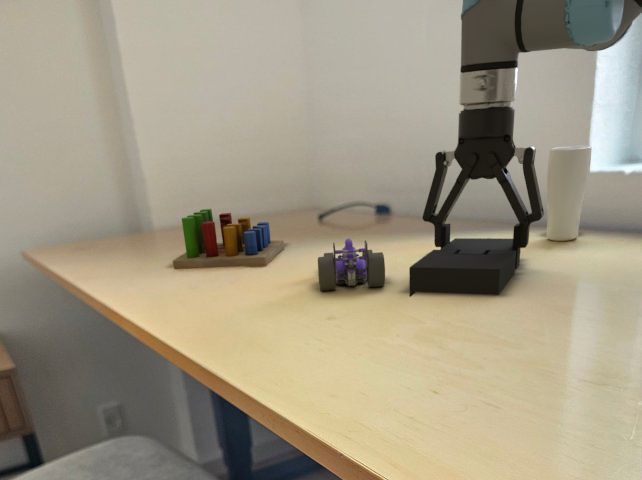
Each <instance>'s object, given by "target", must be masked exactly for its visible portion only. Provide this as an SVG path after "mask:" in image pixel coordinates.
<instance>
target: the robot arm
mask: <svg viewBox="0 0 642 480" xmlns="http://www.w3.org/2000/svg"><path fill="white" fill-rule="evenodd" d="M641 14H642V0H462V7H461V13H460V20H461V33H460V35H461V36H460V37H461V38H460V39H461V41H460V52H461V53H460V71H459V72H460V73H459V100H458V101H459V103H458V104H459V106H463V108H462V110H459V111H460V112H459V113H458V130H457V131H458V133H457V146H456V147H455V149H454V150H448V151H447V150H441V151H438V152H436V153H435V155H434V157H435V158H434V159H435V160H434V161H435V171H434V174H433V178H432V181H431V184H430V189H429V191H428V196H427V200H426V202H425V207H424V210H423V214H422V220H423V222H426V223H427V222H428V223H430V224H432V225H433V227H434V247H435V248H440V249H442V248H443V247H444V246H446V245H447V244H448V243H450V242H451V223H446V222H447V220H448V218H449V216H450V214H451V212H452V211H453V209H454V207H455V205H456V203H458V202H457V201H458V200H459V198H460V196H461V194H462V193H463V191H464V189H465V187H467V184H468V183H469V181H470V180H474V181H475V180H479V179H485V180H494V179H496V181H497V183H498V184H499V185H500V187H501V189H502V191H503V193H504V195H505V197H506V199H507V201H508V203H509V205H510V207H511V209H512V211H513V213H514V215H515V217H516V220H517V221H518V223H516V224H515V225H514V226H513V235H512V239H513V250H516V261H515V270H517V269H518V268H519V266H520V263H521V261H520V260H521V249H525V248H526V247H528V245H529V240H530V229H531V228H530V227H531V224H532V223H534V222H539V221H540V220H542V218H544V215H545V211H544V207H543V206H544V205H543V201H542V196H541V192H540V187H539V181H538V176H537V171H536V167H535V161H536V153H537V149H536V147H535V146H533V145H530V146H527V147H523V146H522V147H520V146H519V147H516V144H515V142H514V128H515V113H516V110H515V108H514V106H511V104H512V102H515V101H516V100H517V99H516V98H517V81H518V67H519V64H518V63H519V54H521V53H523V54H524V53H525V54H526V53H531V52H540V51H550V50H560V49H570V50H583V51H586V52H600V51H605V50H607V49H609V48H611V47H613V46H615V45H617V44H618V43H620V42H621V41H622V40H623V39H624V38H625V37H626V36H627V34H628V33H629V31H630V29H631V28H632V25H633V22H634V21H635V20H637V19H638V17H639V16H640V15H641ZM514 157H516V158H517V162H518V164H520V165H522V173H523V178H524V182H525V187H526V191H527V192H526V193H527V197H528V201H529V205H530V209H531V210H530V211H531V212H530V213H529V211H528V208H527V207H526V205H525V203H524V201H523V199H522V197H521V195H520V193H519V191H518V188H517V187H516V185H515V183H514V181H513V179H512V175H511V173H510V171H509V169H508V165H509V163H511V161H512V159H513V158H514ZM454 159H455V161H456V163H457V164H458V165H459V167H460V169H461V170H460V172H459V173H458V176H457V178H456V179H455V182H454V184H453V186H452V188H451V189H450V191H449V193H448V195H447V197H446V198H445V200H444V201H443V204H442V205H441V206H440V209H439V211H438V212H437V208H438V205H439V201H440V197H441V194H442V191H443V187H444V184H445V181H446V177H447V174H448V169H449V167H451V166H452V164H453V160H454ZM436 212H437V213H436Z"/></svg>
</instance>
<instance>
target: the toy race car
mask: <svg viewBox="0 0 642 480" xmlns="http://www.w3.org/2000/svg"><path fill="white" fill-rule="evenodd" d="M353 243H354V242H353V240H352V239H351V238H346V239H345V241H344V247H342V249H337V250H336V244H335V242H333V243H332V248H333V249H332V250H333V252H324V253H323V256H318V257H317V272H318V284H319V291H320V292H324V291H325V292H327V291H335V290H336V288H337V285H346V286H347V287H355V286H357V285H358V284H363V283H365V282H367V283H366V284H367V287H368V288H378V287H379V288H380V287H385V284H386V262H385V255H384V253H383V252H382V251H381V252H373V249H368V242H367V240H364V248H363V247H362V248H358V249H356V247H355V246H354V244H353ZM359 253H361V255H360V254H359ZM336 255H337V257H336Z"/></svg>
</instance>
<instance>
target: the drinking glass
mask: <svg viewBox="0 0 642 480" xmlns="http://www.w3.org/2000/svg"><path fill="white" fill-rule="evenodd" d="M592 148H593V147H592V146H590V145H570V146H559V147H558V146H557V147H552V148H550V149H549V154H548V160H547V162H548V163H547V173H546V175H547V178H546V180H547V181H546V183H547V184H546V190H547V191H546V192H547V193H546V201H547V203H546V233H545V234H546V235H545V237H546V238H547V239H548V240H550V241H555V242H565V241H566V242H567V241H573V240H576V239H577V238H578V236H579V230H580V229H579V228H580V222H581V217H582V212H583V207H584V202H585V197H586V191H587V186H588V181H589V176H590V170H591V160H592Z"/></svg>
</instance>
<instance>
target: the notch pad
mask: <svg viewBox="0 0 642 480" xmlns="http://www.w3.org/2000/svg"><path fill="white" fill-rule="evenodd" d="M515 261H516V250H490V251H489V252H488V253H487V254H457V250H440V249H433V250H431V251H430V252H427V254H426V255H424V256H423V257H421V258H420V259H419V260H418V261H416V262H415V263H414V264H411V266H409V269H408V271H409V272H408V273H409V274H408V275H409V279H408V280H409V297H412V296H414V295H415V294H416V293H427V294H429V293H431V294H432V293H433V294H456V295H457V294H459V295H482V296H486V295H487V296H500V294H501V293H502V291H503V290H504V289H505V288H506V286H507V285H508V284H509V282H510V281H511V279H512V278H513V277H514V276H515V275H516V274H515V273H516V269H515Z"/></svg>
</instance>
